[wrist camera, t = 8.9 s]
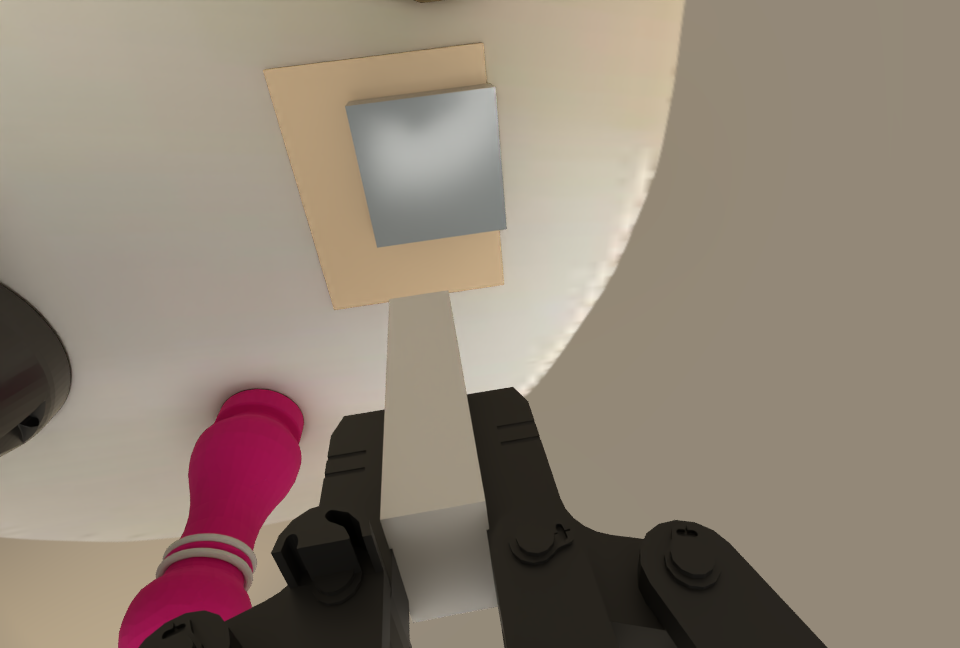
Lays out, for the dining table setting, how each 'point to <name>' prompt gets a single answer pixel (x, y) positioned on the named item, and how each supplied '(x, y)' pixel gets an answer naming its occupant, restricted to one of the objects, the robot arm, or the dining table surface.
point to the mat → (338, 185)
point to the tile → (430, 163)
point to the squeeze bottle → (426, 0)
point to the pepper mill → (223, 513)
